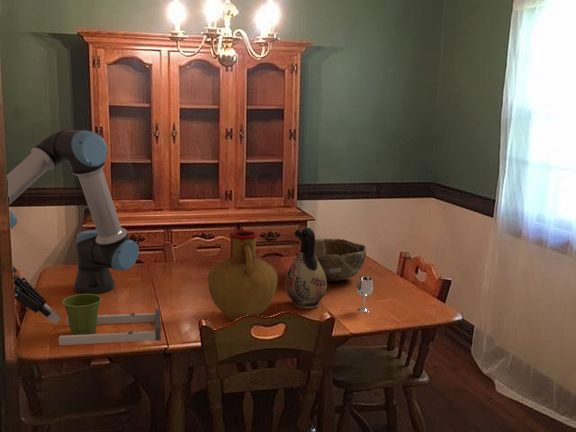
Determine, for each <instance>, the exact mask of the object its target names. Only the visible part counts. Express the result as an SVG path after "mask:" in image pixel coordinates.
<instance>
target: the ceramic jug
mask: <svg viewBox="0 0 576 432" xmlns="http://www.w3.org/2000/svg"><path fill="white" fill-rule="evenodd" d="M294 236H295V237H296V238H298V239H299V241H300V250H299V252H298V254H297V255H296V256H295V257H294V259H293V260H292V263H291V264H290V265H289V268H288V270H287V273H286V277H285V281H284V287H285V291H286V292H285V293H286V294H287V296H288V298H289V299H290V300H291V301H292V303H293V305H294V307H296V308H300V309H303V310H305V309H307V310H311V309H314V308H318V307H319V305H320V301H321V300H322V299H323V298H324V296H325V294H326V293H327V289H328V283H327V282H328V281H326V276H325V273H324V271H323V268H322V267H321V265H320V263H319V262H318V260H317V259H316V257H315V256H314V248H315V240H316V235H315V232H314V230H313V229H311V228H310V227H305V228H303V229H302V231H301V230H300V229H296V230H295V232H294Z"/></svg>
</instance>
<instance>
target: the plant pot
mask: <svg viewBox="0 0 576 432" xmlns="http://www.w3.org/2000/svg"><path fill="white" fill-rule="evenodd" d="M102 299H103V297H101V295H98V294H82V293H78V294H74V295H70V296H67V297H65V298H64V299H63V300H62V303H61V304H62V305H63V306H64V309H65V311H66V315H67V317H68V319H69V323H70V325H69V327H70V332H71V335H86V334H96V331H97V325H98V324H97V316H98V315H99V309H100V303H101V302H102Z"/></svg>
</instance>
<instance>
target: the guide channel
mask: <svg viewBox="0 0 576 432" xmlns="http://www.w3.org/2000/svg"><path fill="white" fill-rule="evenodd" d="M150 322H151V323H152V322H153V323H154V325H155V327H154V330H151V331H147V330H146V331H132V330H131V331H130V330H129V331H127V332H111V333H94V334H86V335H73V334H68V335H59V337H58V344H59V346H75V345H76V346H77V345H92V344H93V345H94V344H113V343H129V342H149V341H150V342H151V341H154V342H155V341H161V308H155V312H147V313H146V312H145V313H135V312H131V313H123V314H122V313H121V314H102V315H101V314H100V315H99V314H98V316H97V324H96V325H104V324H105V325H107V324H111V325H112V324H131V323H132V324H133V323H150ZM66 325H67V326H68V327H70V323H69V319H68V316H67V317H66Z"/></svg>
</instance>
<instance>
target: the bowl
mask: <svg viewBox="0 0 576 432" xmlns="http://www.w3.org/2000/svg"><path fill="white" fill-rule="evenodd" d="M314 256H315V257H316V259H317V260H318V262H319V263H320V265H321V267H322V268H323V271H324V273H325V276H326V281H327V282H338V281H345V280H347V279H350V278H352V277H354V276H355V275H357V274H358V273H359V271H361V269H362V268H363V265H364V263H365V260H366V256H367V248H366V245H364V244H359V243H356V242H352V241H349V240H347V239H345V238H344V239H343V238H342V239H341V238H322V239H321V238H319V239H318V238H317V239H316V238H315V248H314Z"/></svg>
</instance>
